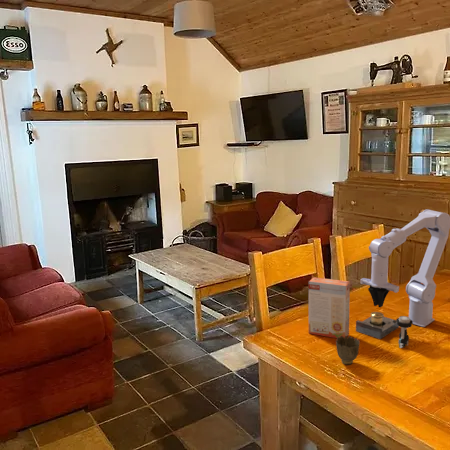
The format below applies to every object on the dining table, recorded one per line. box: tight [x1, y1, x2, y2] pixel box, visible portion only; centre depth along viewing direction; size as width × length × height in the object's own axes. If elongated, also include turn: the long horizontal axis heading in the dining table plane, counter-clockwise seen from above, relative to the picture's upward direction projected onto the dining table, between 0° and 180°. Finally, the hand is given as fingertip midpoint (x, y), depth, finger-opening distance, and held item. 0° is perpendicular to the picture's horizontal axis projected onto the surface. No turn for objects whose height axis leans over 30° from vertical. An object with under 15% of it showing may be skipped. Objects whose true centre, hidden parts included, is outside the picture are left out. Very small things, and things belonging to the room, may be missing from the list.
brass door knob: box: [370, 311, 385, 326], centre depth 172 cm, size 5×5×6 cm
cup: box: [335, 335, 361, 366], centre depth 148 cm, size 7×7×8 cm
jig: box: [355, 315, 400, 340], centre depth 172 cm, size 14×10×4 cm
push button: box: [395, 315, 413, 349], centre depth 158 cm, size 7×5×10 cm
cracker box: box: [308, 276, 351, 339], centre depth 168 cm, size 14×6×21 cm, turn 61°
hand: (378, 305), depth 171 cm, fingers closed
